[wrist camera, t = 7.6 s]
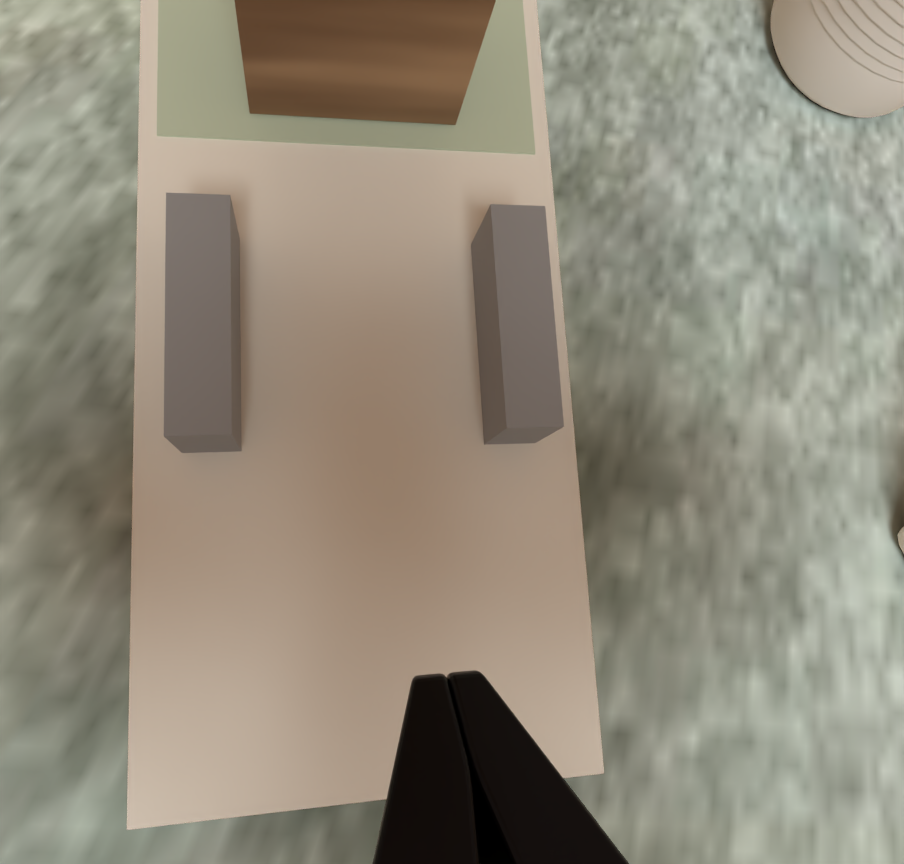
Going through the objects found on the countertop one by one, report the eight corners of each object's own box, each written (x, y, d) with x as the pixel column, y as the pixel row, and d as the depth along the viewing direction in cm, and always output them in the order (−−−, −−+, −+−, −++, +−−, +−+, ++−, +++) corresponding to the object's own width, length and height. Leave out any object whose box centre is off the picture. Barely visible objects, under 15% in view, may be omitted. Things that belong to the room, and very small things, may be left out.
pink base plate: (590, 764, 21) (644, 801, 17) (136, 816, 19) (97, 871, 15) (526, 7, 25) (560, -81, 22) (148, -26, 23) (120, -130, 19)
